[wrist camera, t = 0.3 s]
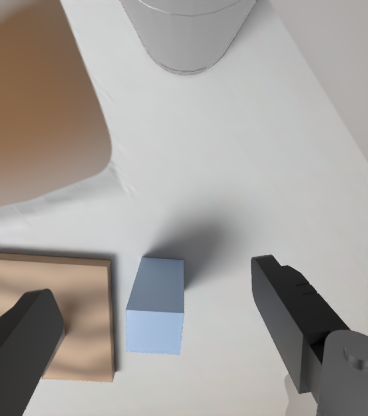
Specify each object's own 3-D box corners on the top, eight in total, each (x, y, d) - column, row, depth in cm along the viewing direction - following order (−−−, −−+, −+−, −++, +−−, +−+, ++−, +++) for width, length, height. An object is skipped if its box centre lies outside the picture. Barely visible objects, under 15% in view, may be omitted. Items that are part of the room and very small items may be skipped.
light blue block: (141, 257, 31) (125, 309, 22) (184, 259, 31) (184, 313, 22) (141, 291, 33) (126, 351, 24) (180, 293, 33) (179, 354, 24)
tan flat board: (-12, 252, 31) (-81, 298, 23) (110, 260, 31) (85, 308, 23) (17, 367, 38) (-27, 432, 30) (114, 372, 39) (97, 438, 31)
